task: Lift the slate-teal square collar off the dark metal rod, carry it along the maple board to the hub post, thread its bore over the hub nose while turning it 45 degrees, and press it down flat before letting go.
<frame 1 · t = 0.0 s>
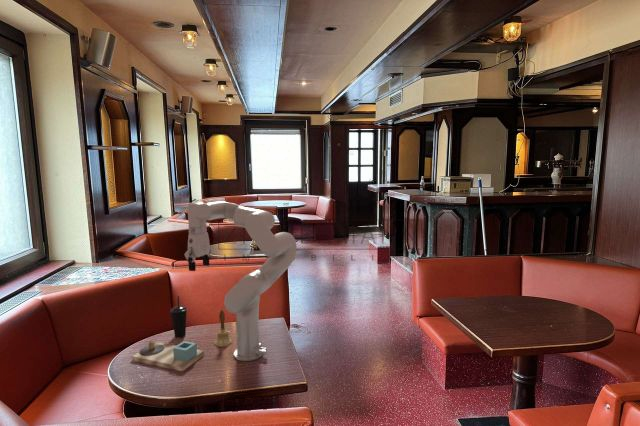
hand: (199, 267, 167), 37 cm above the table, tool pointing down, fingers open, 9 cm apart
collar: (185, 356, 158), point 2 cm above the table, touching base board
hand bell: (223, 343, 175), on the table
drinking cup: (180, 336, 182), on the table
base board: (168, 357, 161), on the table
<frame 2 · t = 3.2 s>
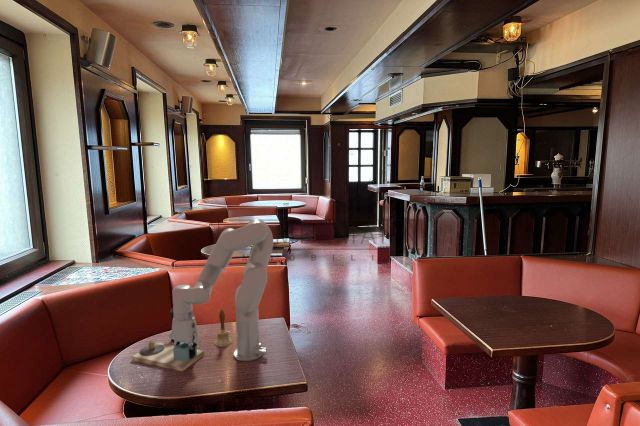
hand: (185, 355, 158), 3 cm above the table, tool pointing down, fingers closed on collar, 6 cm apart
collar: (185, 356, 158), point 2 cm above the table, touching base board, gripper
everything else where it was.
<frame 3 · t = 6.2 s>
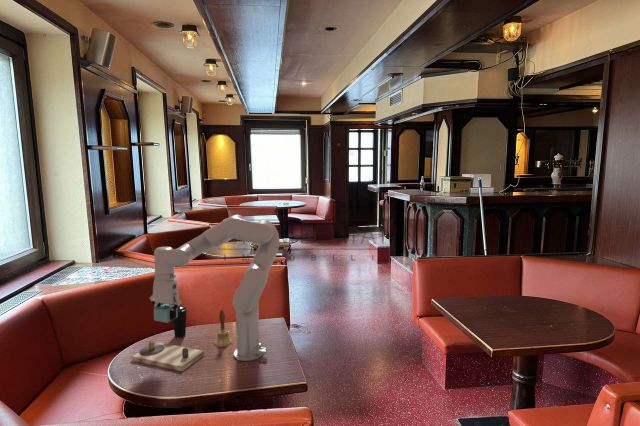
hand: (165, 317, 159), 18 cm above the table, tool pointing down, fingers closed on collar, 6 cm apart
collar: (166, 318, 159), point 18 cm above the table, touching gripper
everything else where it was.
when the fingers open (3 cm above the table, at t = 9.3 s): collar stays where it is, resting on base board.
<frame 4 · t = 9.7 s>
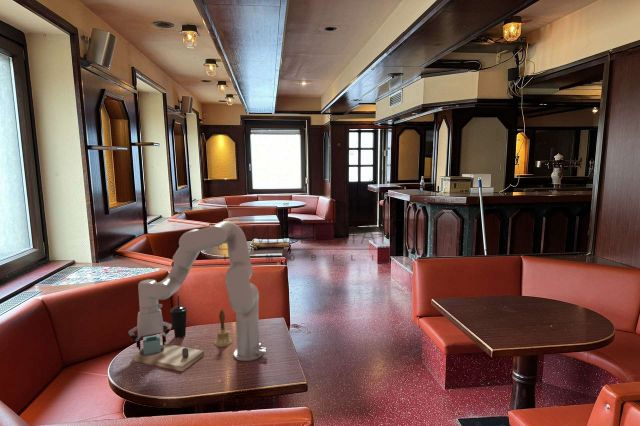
hand: (151, 346, 164), 4 cm above the table, tool pointing down, fingers open, 9 cm apart
collar: (152, 349, 164), point 2 cm above the table, touching base board
everything else where it was.
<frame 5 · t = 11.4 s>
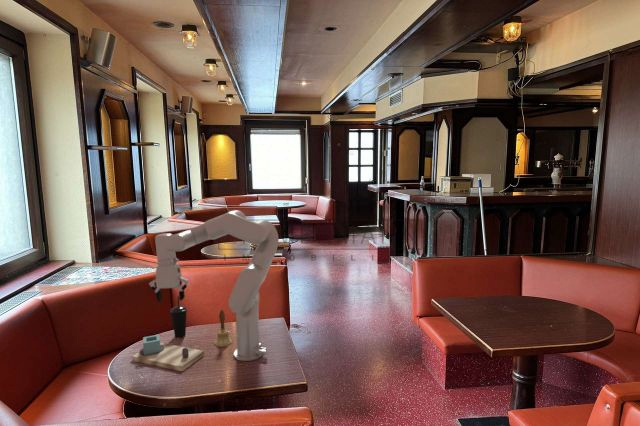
hand: (171, 300, 164), 24 cm above the table, tool pointing down, fingers open, 9 cm apart
nothing on the table moved.
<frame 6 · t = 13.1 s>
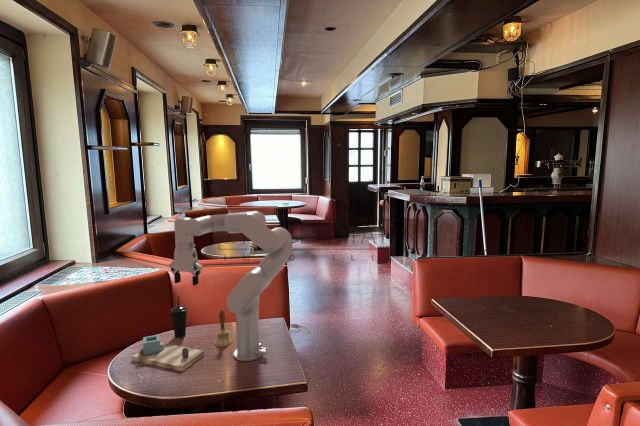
hand: (186, 283, 166), 30 cm above the table, tool pointing down, fingers open, 9 cm apart
nothing on the table moved.
at the end: collar 0.1 cm from the target spot, point 2.2 cm above the table; collar tilted 0°; the gripper is holding nothing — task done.
